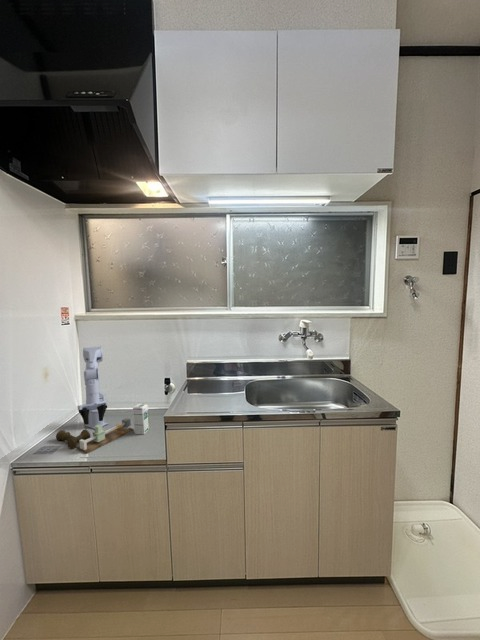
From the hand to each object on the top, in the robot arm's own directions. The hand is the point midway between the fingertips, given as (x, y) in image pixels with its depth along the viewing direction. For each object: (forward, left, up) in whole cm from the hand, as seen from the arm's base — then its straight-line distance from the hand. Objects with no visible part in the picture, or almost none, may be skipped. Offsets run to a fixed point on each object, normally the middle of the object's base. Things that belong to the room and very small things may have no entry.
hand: (93, 422), depth 151 cm
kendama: (-13, -3, -13) cm, 18 cm away
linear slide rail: (-2, +8, -11) cm, 14 cm away
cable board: (-2, +7, -12) cm, 14 cm away
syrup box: (+7, +22, -12) cm, 27 cm away
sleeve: (-2, +3, -10) cm, 11 cm away
